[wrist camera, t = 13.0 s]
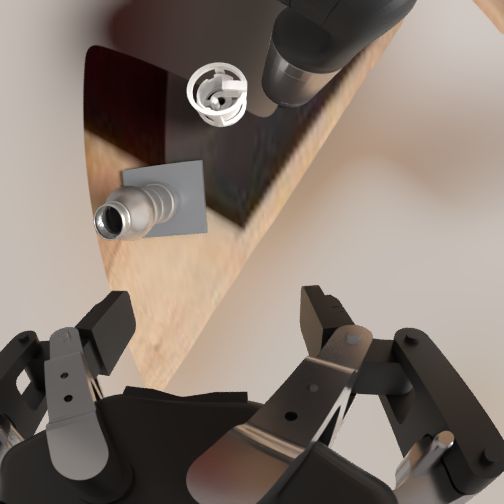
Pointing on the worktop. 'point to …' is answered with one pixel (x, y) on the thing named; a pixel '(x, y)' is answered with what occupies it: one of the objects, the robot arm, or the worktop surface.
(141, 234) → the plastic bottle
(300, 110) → the worktop surface
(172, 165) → the board
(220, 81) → the white cylindrical piece
